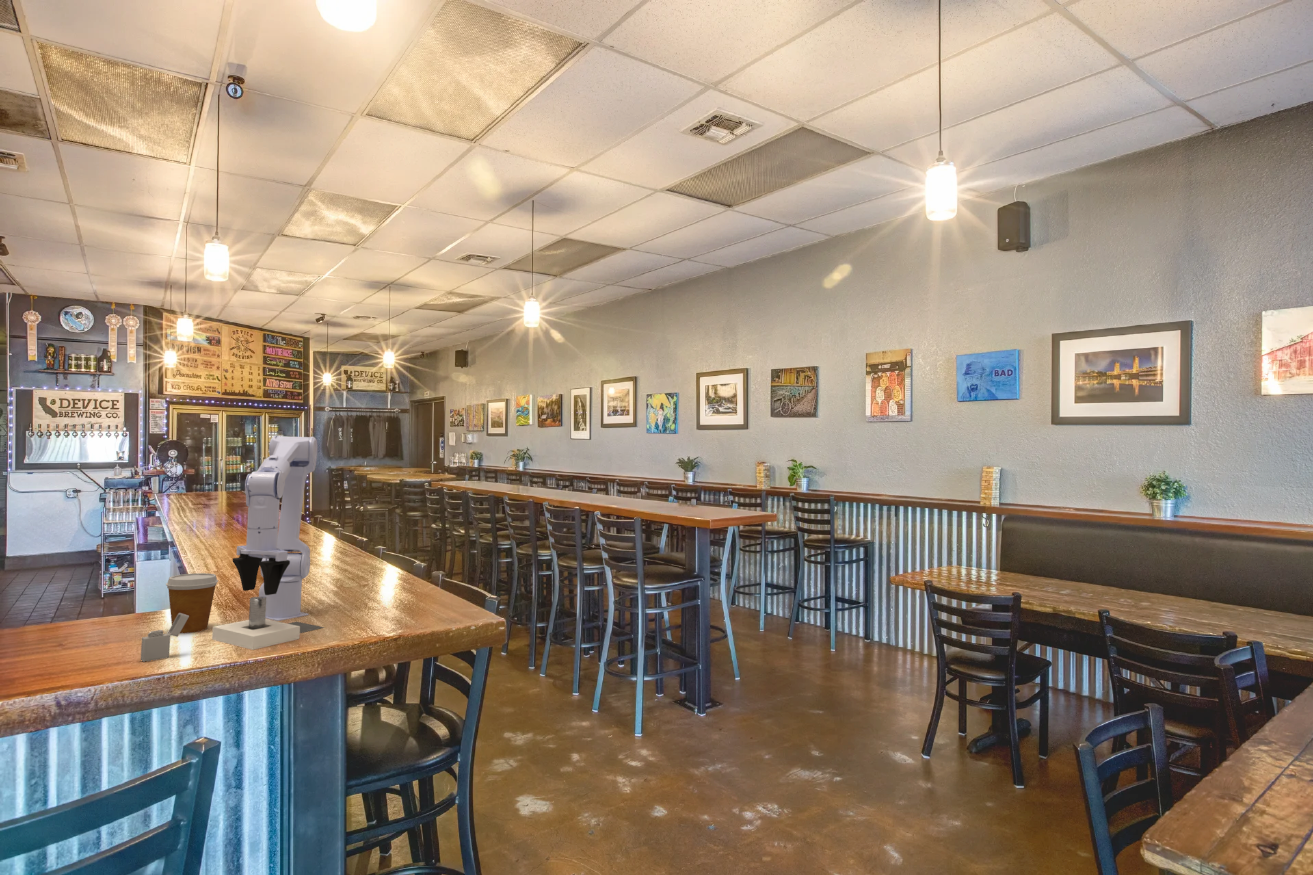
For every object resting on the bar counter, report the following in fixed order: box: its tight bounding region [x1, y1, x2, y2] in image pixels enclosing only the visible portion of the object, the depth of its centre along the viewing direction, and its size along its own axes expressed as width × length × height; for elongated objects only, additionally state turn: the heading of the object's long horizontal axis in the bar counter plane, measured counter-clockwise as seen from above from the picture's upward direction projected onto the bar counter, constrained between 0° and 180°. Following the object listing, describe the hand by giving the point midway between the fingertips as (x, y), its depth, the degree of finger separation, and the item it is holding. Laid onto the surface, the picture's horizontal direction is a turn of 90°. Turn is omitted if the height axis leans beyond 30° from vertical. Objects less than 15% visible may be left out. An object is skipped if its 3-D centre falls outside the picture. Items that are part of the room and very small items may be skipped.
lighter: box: [140, 613, 189, 663], centre depth 129 cm, size 7×2×8 cm, turn 144°
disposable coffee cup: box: [165, 572, 219, 634], centre depth 148 cm, size 10×10×12 cm
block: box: [211, 618, 301, 651], centre depth 142 cm, size 14×10×3 cm
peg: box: [248, 596, 266, 630], centre depth 142 cm, size 3×3×9 cm
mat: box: [287, 621, 326, 634], centre depth 152 cm, size 10×8×1 cm
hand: (259, 592), depth 143 cm, fingers open, 7 cm apart
